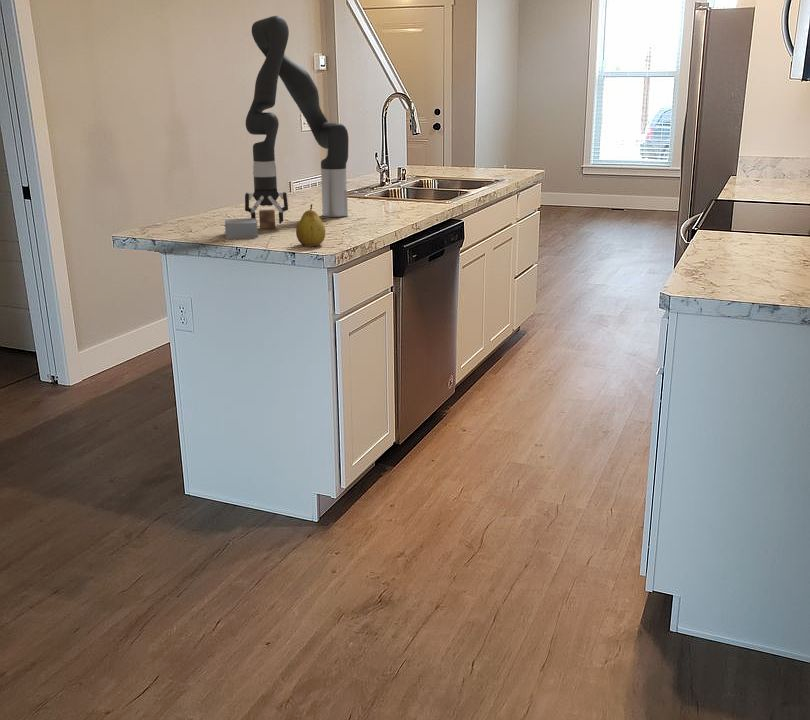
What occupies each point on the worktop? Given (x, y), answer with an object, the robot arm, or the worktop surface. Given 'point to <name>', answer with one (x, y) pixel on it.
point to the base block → (241, 228)
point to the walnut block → (267, 219)
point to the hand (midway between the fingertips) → (267, 223)
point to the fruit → (310, 229)
